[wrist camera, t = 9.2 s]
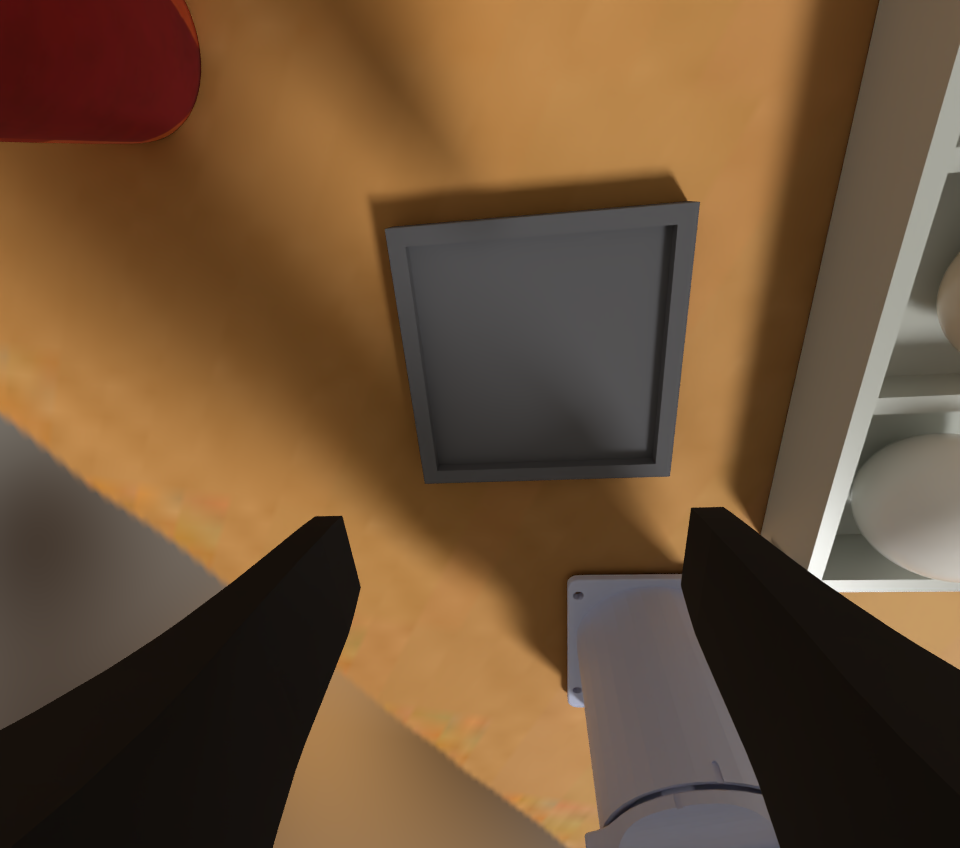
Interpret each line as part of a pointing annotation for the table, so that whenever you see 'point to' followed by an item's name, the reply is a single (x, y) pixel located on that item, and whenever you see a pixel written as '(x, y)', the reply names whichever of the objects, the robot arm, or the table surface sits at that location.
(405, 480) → the table surface
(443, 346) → the coaster
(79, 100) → the paper cup
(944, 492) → the white egg
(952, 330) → the beige ball
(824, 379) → the tray
